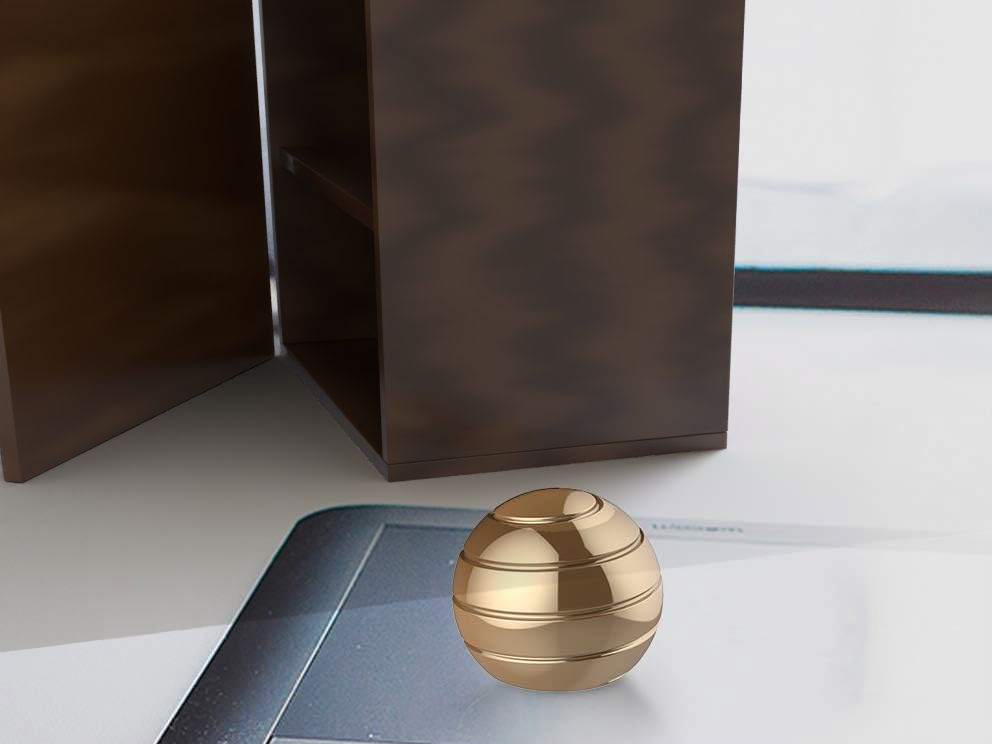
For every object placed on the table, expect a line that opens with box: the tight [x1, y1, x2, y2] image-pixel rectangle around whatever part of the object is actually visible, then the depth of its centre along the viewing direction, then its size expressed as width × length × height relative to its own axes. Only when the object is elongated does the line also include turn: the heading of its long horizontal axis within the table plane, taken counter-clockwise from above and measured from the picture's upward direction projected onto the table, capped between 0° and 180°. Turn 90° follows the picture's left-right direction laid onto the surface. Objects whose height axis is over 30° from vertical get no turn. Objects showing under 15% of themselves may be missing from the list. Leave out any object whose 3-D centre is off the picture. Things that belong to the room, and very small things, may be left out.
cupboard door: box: [0, 0, 276, 483], centre depth 91 cm, size 7×26×24 cm, turn 164°
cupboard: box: [257, 0, 747, 483], centre depth 94 cm, size 18×26×24 cm
